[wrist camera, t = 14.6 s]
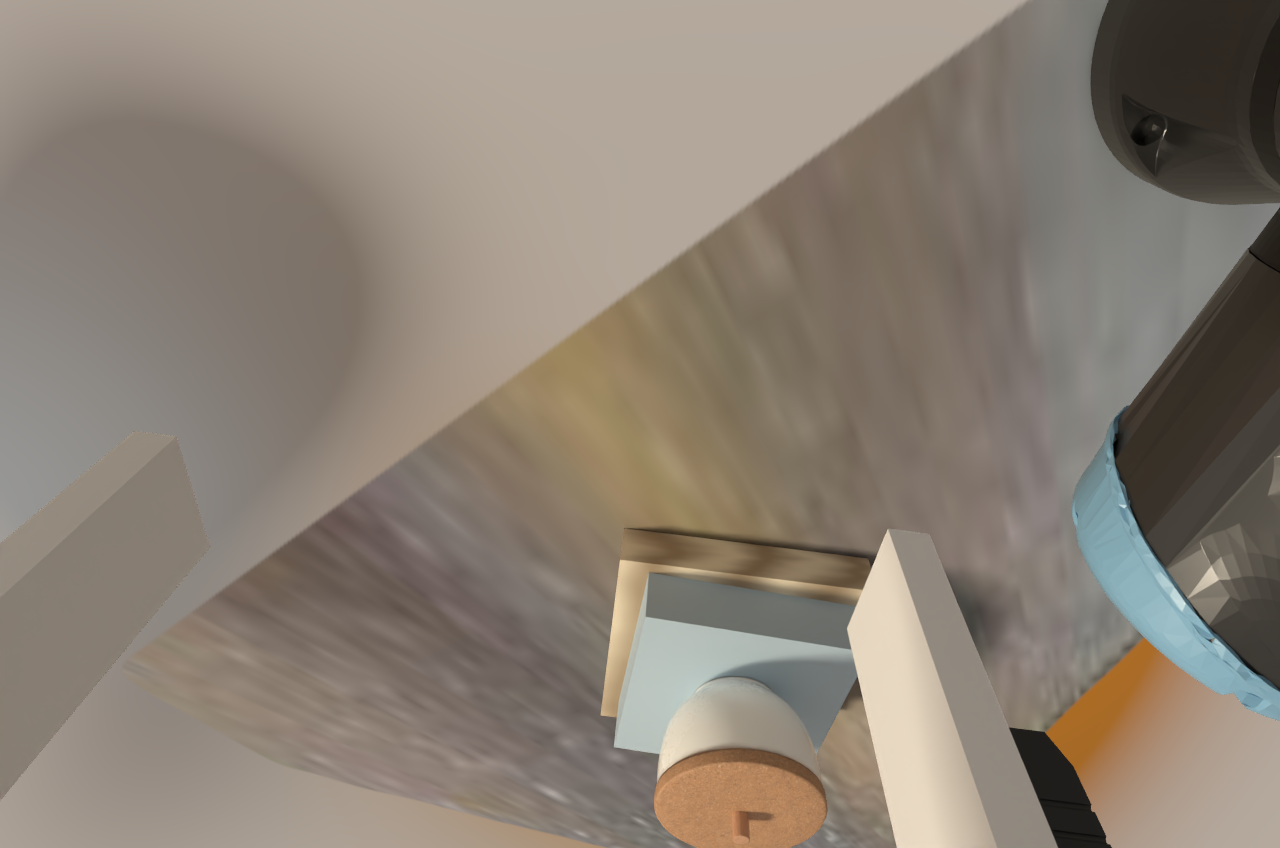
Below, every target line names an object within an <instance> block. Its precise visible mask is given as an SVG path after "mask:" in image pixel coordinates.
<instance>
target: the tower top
mask: <svg viewBox="0 0 1280 848" xmlns="http://www.w3.org/2000/svg"><path fill="white" fill-rule="evenodd" d="M855 608H856V606H853V605H846V604H840V603H834V602H828V601H822V600H816V599H810V598H803V597H797V596H791V595H785V594H779V593H773V592H766V591H760V590H754V589H748V588H742V587H736V586H730V585H723V584H717V583H711V582H705V581H699V580H693V579H686V578H680V577H674V576H668V575H662V574H656V573H650V572H649V574H648V578H647V582H646V587H645V591H644V595H643V600H642V604H641V608H640V612H639V617H638V621H637V625H636V630H635V634H634V638H633V642H632V647H631V651H630V655H629V659H628V664H627V668H626V672H625V677H624V681H623V685H622V689H621V694H620V698H619V703H618V713H617V723H616V732H615V742H614V747H617V748H623V749H630V750H636V751H643V752H649V753H656V754H660V751H661V746H662V741H663V738H664V735H665V731H666V728H667V726H668V724H669V722H670V720H671V718H672V716H673V715H674V713H675V712H676V710H677V709H678V708H679V707H680V705H681V704H682V703H683V702H684V701H685V700H687V699H688V698H689V697H690V696H691V695H693V694H694V692H695V691H696V690H697V689H698V688H699V687H700V686H701V685H703V684H705V683H706V682H709V681H711V680H714V679H717V678H722V677H731V676H734V677H746V678H750V679H754V680H756V681H759V682H761V683H763V684H765V685H766V686H768V687H769V688H770V689H771V690H772V691H773V692H774V693H775V694H776V695H778V696H779V697H781V698H782V699H783V700H785V701H786V702H787V703H788V704H789V705H790V706H791V707H792V708H793V709H794V711H795V712H796V713H797V714H798V716H799V717H800V719H801V720H802V722H803V724H804V725H805V727H806V729H807V731H808V734H809V736H810V739H811V741H812V744H813V746H814V750H815V753H816V754H817V752H818V750H819V748H820V746H821V744H822V743H823V741H824V739H825V737H826V735H827V733H828V731H829V729H830V727H831V725H832V724H833V722H834V720H835V718H836V716H837V714H838V712H839V710H840V708H841V706H842V705H843V703H844V701H845V699H846V697H847V695H848V693H849V691H850V689H851V688H852V686H853V684H854V682H855V680H856V678H857V676H858V675H857V670H856V666H855V662H854V657H853V653H852V649H851V644H850V640H849V636H848V631H847V627H848V625H849V622H850V620H851V617H852V615H853V613H854V610H855Z"/></svg>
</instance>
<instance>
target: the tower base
mask: <svg viewBox="0 0 1280 848" xmlns="http://www.w3.org/2000/svg"><path fill="white" fill-rule="evenodd" d="M870 571H871V566H870V563H869V559H868V558H860V557H851V556H843V555H835V554H827V553H819V552H811V551H803V550H795V549H787V548H779V547H771V546H763V545H755V544H747V543H739V542H731V541H723V540H714V539H706V538H698V537H690V536H682V535H674V534H666V533H658V532H650V531H642V530H634V529H626V528H624V533H623V541H622V549H621V557H620V565H619V573H618V581H617V589H616V597H615V605H614V613H613V621H612V629H611V637H610V645H609V653H608V661H607V669H606V677H605V685H604V693H603V701H602V709H601V715H602V716H611V717H617V713H618V703H619V698H620V694H621V689H622V685H623V681H624V677H625V672H626V668H627V664H628V659H629V655H630V651H631V647H632V642H633V638H634V634H635V630H636V625H637V621H638V617H639V612H640V608H641V604H642V600H643V595H644V591H645V587H646V582H647V578H648V574H649V572H650V573H656V574H662V575H668V576H674V577H680V578H686V579H693V580H699V581H705V582H711V583H717V584H723V585H730V586H736V587H742V588H748V589H754V590H760V591H766V592H773V593H779V594H785V595H791V596H797V597H803V598H810V599H816V600H822V601H828V602H834V603H840V604H846V605H853V606H856V605H857V603H858V600H859V598H860V596H861V593H862V591H863V588H864V586H865V583H866V581H867V579H868V576H869V574H870Z"/></svg>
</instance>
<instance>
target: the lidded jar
mask: <svg viewBox="0 0 1280 848" xmlns="http://www.w3.org/2000/svg"><path fill="white" fill-rule="evenodd" d="M654 808H655V812H656V815H657V818H658V819H659V821H660V822H661V824H662V826H663V827H664V828H665V829H666V830H667V831H668V832H670V833H671V834H672V835H674V836H675V837H676V838H678V839H680V840H682V841H684V842H686V843H688V844H690V845H693V846H695V847H698V848H790V847H793V846H795V845H797V844H800V843H802V842H803V841H805V840H807V839H809V838H810V837H811V836H812V835H814V834H815V833H816V832H817V831H818V830H819V829H820V827H821V826H822V824H823V822H824V820H825V818H826V815H827V801H826V794H825V790H824V788H823V785H822V782H821V775H820V769H819V764H818V760H817V756H816V753H815V750H814V746H813V744H812V741H811V739H810V736H809V734H808V731H807V729H806V727H805V725H804V724H803V722H802V720H801V719H800V717H799V716H798V714H797V713H796V712H795V711H794V709H793V708H792V707H791V706H790V705H789V704H788V703H787V702H786V701H785V700H783V699H782V698H781V697H779V696H778V695H776V694H775V693H774V692H773V691H772V690H771V689H770V688H769V687H768V686H766V685H765V684H763V683H761V682H759V681H756V680H754V679H750V678H746V677H734V676H731V677H722V678H717V679H714V680H711V681H709V682H706V683H705V684H703V685H701V686H700V687H699V688H698V689H697V690H696V691H695V692H694V694H693V695H691V696H690V697H689V698H688V699H687V700H685V701H684V702H683V703H682V704H681V705H680V707H679V708H678V709H677V710H676V712H675V713H674V715H673V716H672V718H671V720H670V722H669V724H668V726H667V728H666V731H665V735H664V738H663V741H662V746H661V751H660V756H659V762H658V773H657V785H656V789H655V796H654Z"/></svg>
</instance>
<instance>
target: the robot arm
mask: <svg viewBox="0 0 1280 848" xmlns="http://www.w3.org/2000/svg"><path fill="white" fill-rule="evenodd" d="M1091 97H1092V105H1093V110H1094V115H1095V119H1096V122H1097V125H1098V128H1099V130H1100V133H1101V135H1102V137H1103V139H1104V141H1105V143H1106V145H1107V146H1108V148H1109V149H1110V151H1111V152H1112V154H1113V155H1114V156H1115V157H1116V158H1117V160H1118V161H1119V162H1120V163H1121V164H1122V165H1123V166H1124V167H1125V168H1126V169H1128V170H1129V171H1130V172H1132V173H1133V174H1134V175H1136V176H1138V177H1139V178H1141V179H1142V180H1144V181H1146V182H1149V183H1151V184H1153V185H1155V186H1157V187H1159V188H1161V189H1163V190H1165V191H1167V192H1169V193H1172V194H1174V195H1177V196H1180V197H1182V198H1186V199H1190V200H1194V201H1199V202H1205V203H1212V204H1227V205H1238V204H1263V203H1280V0H1109V1H1108V4H1107V6H1106V9H1105V12H1104V14H1103V17H1102V20H1101V23H1100V27H1099V30H1098V34H1097V38H1096V42H1095V47H1094V52H1093V58H1092V67H1091ZM1072 515H1073V520H1074V524H1075V526H1076V529H1077V535H1076V538H1077V542H1078V545H1079V547H1080V550H1081V552H1082V554H1083V556H1084V558H1085V561H1086V563H1087V565H1088V567H1089V568H1090V570H1091V572H1092V574H1093V575H1094V577H1095V578H1096V580H1097V582H1098V583H1099V585H1100V586H1101V587H1102V589H1103V590H1104V592H1105V593H1106V595H1107V596H1108V597H1109V598H1110V600H1111V601H1112V602H1113V604H1114V605H1115V606H1116V607H1117V608H1118V610H1119V611H1120V612H1121V613H1122V614H1123V615H1124V616H1125V618H1126V619H1127V620H1128V621H1129V622H1130V623H1131V624H1132V625H1133V626H1134V627H1135V628H1136V629H1137V630H1138V631H1139V632H1140V633H1141V634H1142V635H1143V636H1144V637H1145V638H1146V639H1147V640H1148V641H1149V642H1150V643H1151V644H1152V645H1153V646H1154V647H1156V648H1157V649H1158V650H1159V651H1160V652H1161V653H1162V654H1163V655H1165V656H1166V657H1167V658H1168V659H1170V660H1171V661H1172V662H1173V663H1174V664H1176V665H1177V666H1178V667H1180V668H1181V669H1182V670H1183V671H1185V672H1186V673H1188V674H1189V675H1190V676H1192V677H1193V678H1195V679H1196V680H1197V681H1199V682H1201V683H1202V684H1204V685H1205V686H1207V687H1208V688H1210V689H1212V690H1213V691H1215V692H1216V693H1219V694H1231V693H1234V694H1235V695H1236V697H1237V698H1238V699H1239V700H1240V702H1241V703H1242V704H1243V705H1244V706H1245V707H1246V708H1247V709H1249V710H1251V711H1254V712H1256V713H1259V714H1261V715H1263V716H1266V717H1269V718H1272V719H1275V720H1278V721H1280V208H1279V209H1278V211H1277V212H1276V213H1275V215H1274V216H1273V217H1272V219H1271V220H1270V221H1269V223H1268V224H1267V225H1266V227H1265V228H1264V229H1263V231H1262V232H1261V234H1260V235H1259V236H1258V238H1257V239H1256V240H1255V242H1254V243H1253V244H1252V245H1251V246H1250V248H1248V249H1247V250H1246V252H1245V253H1244V254H1243V256H1242V257H1241V258H1240V260H1239V261H1238V262H1237V264H1236V265H1235V266H1234V268H1233V269H1232V270H1231V272H1230V273H1229V274H1228V276H1227V277H1226V279H1225V280H1224V281H1223V283H1222V284H1221V285H1220V287H1219V288H1218V289H1217V291H1216V292H1215V293H1214V295H1213V296H1212V297H1211V299H1210V300H1209V301H1208V303H1207V304H1206V305H1205V307H1204V308H1203V309H1202V311H1201V312H1200V313H1199V315H1198V316H1197V317H1196V319H1195V320H1194V321H1193V323H1192V324H1191V325H1190V327H1189V328H1188V329H1187V331H1186V332H1185V334H1184V335H1183V336H1182V338H1181V339H1180V340H1179V342H1178V343H1177V344H1176V346H1175V347H1174V348H1173V350H1172V351H1171V352H1170V354H1169V355H1168V356H1167V358H1166V359H1165V360H1164V362H1163V363H1162V364H1161V366H1160V367H1159V368H1158V370H1157V371H1156V372H1155V374H1154V375H1153V376H1152V378H1151V379H1150V380H1149V382H1148V383H1147V384H1146V385H1145V387H1144V388H1143V389H1142V390H1141V392H1140V393H1139V394H1138V396H1137V397H1136V398H1135V399H1134V401H1133V402H1132V403H1131V405H1129V406H1126V407H1124V408H1123V409H1122V410H1121V411H1120V412H1119V413H1118V415H1117V416H1116V417H1115V419H1114V420H1113V421H1112V422H1111V424H1110V426H1109V429H1108V431H1107V435H1106V439H1105V441H1104V443H1103V445H1102V446H1101V448H1100V449H1099V451H1098V452H1097V454H1096V456H1095V457H1094V459H1093V460H1092V462H1091V463H1090V465H1089V466H1088V468H1087V469H1086V470H1085V472H1084V473H1083V475H1082V476H1081V478H1080V480H1079V482H1078V484H1077V486H1076V489H1075V492H1074V496H1073V501H1072ZM209 548H210V544H209V541H208V538H207V535H206V531H205V528H204V525H203V522H202V519H201V515H200V512H199V509H198V505H197V502H196V499H195V495H194V492H193V489H192V486H191V482H190V479H189V476H188V473H187V469H186V466H185V463H184V460H183V457H182V453H181V450H180V447H179V443H178V440H177V437H176V436H169V435H161V434H154V433H146V432H138V431H134V432H133V433H132V434H130V435H129V436H128V437H127V438H126V439H124V440H123V441H122V442H121V443H120V444H118V445H117V446H116V447H115V448H114V449H112V450H111V451H110V452H109V453H108V454H107V455H105V456H104V457H103V458H102V459H100V460H99V461H98V462H97V463H96V464H94V465H93V466H92V467H91V468H90V469H89V470H87V471H86V472H85V473H84V474H83V475H81V476H80V477H79V478H78V479H77V480H75V481H74V482H73V483H72V484H71V485H69V487H67V488H66V489H65V490H63V491H62V492H61V493H60V494H59V495H58V496H56V497H55V498H54V499H53V500H52V501H50V502H49V503H48V504H47V505H46V506H44V507H43V508H42V509H41V510H40V511H38V512H37V513H36V514H35V515H34V516H32V517H31V518H30V519H29V520H28V521H26V522H25V523H24V524H23V525H22V526H20V527H19V528H18V529H17V530H16V531H15V532H13V533H12V534H11V535H10V536H9V537H7V538H6V539H5V540H4V541H3V542H1V543H0V800H1V799H2V798H3V797H4V795H5V794H6V793H7V792H8V791H9V789H10V788H11V787H12V786H13V785H14V783H15V782H16V781H17V780H18V778H19V777H20V776H21V775H22V774H23V773H24V771H25V770H26V769H27V768H28V766H29V765H30V764H31V763H32V762H33V760H34V759H35V758H36V757H37V756H38V754H39V753H40V752H41V751H42V750H43V748H44V747H45V746H46V745H47V744H48V742H49V741H50V740H51V739H52V737H53V736H54V735H55V734H56V733H57V731H58V730H59V729H60V728H61V727H62V725H63V724H64V723H65V722H66V720H67V719H68V718H69V717H70V716H71V715H72V713H73V712H74V711H75V710H76V708H77V707H78V706H79V705H80V704H81V702H82V701H83V700H84V699H85V698H86V696H87V695H88V694H89V692H90V691H91V690H92V689H93V688H94V687H95V686H96V684H97V683H98V682H99V681H100V679H101V678H102V677H103V676H104V674H105V673H106V672H107V671H108V670H109V668H110V667H111V666H112V665H113V664H114V663H115V661H116V660H117V659H118V658H119V657H120V655H121V654H122V653H123V652H124V651H125V649H126V648H127V647H128V645H129V644H130V643H131V642H132V641H133V640H134V638H135V637H136V636H137V635H138V633H139V632H140V631H141V630H142V629H143V628H144V626H145V625H146V624H147V623H148V621H149V620H150V619H151V618H152V617H153V615H154V614H155V613H156V612H157V611H158V609H159V608H160V607H161V606H162V605H163V603H164V602H165V601H166V600H167V598H168V597H169V596H170V595H171V594H172V592H173V591H174V590H175V589H176V588H177V586H178V585H179V584H180V583H181V582H182V580H183V579H184V578H185V577H186V576H187V574H188V573H189V572H190V571H191V569H192V568H193V567H194V566H195V565H196V564H197V562H198V561H199V560H200V559H201V558H202V556H203V555H204V554H205V553H206V551H207V550H208V549H209ZM847 631H848V636H849V640H850V644H851V649H852V653H853V657H854V662H855V666H856V670H857V675H858V679H859V684H860V688H861V692H862V697H863V701H864V705H865V710H866V714H867V719H868V723H869V727H870V732H871V736H872V740H873V745H874V749H875V753H876V758H877V762H878V767H879V771H880V775H881V780H882V784H883V788H884V793H885V797H886V802H887V806H888V810H889V815H890V819H891V823H892V828H893V832H894V837H895V841H896V845H897V848H1112V847H1111V845H1109V844H1107V843H1106V835H1105V833H1104V831H1103V828H1102V826H1101V824H1100V822H1099V820H1098V818H1097V816H1096V814H1095V812H1092V811H1091V803H1090V801H1089V799H1088V797H1087V795H1086V792H1085V790H1084V788H1083V786H1082V784H1081V782H1080V780H1079V777H1078V776H1077V773H1076V771H1075V769H1074V767H1073V766H1072V764H1071V763H1070V762H1069V761H1068V760H1067V759H1066V757H1065V756H1064V755H1063V754H1062V752H1061V751H1060V750H1059V749H1058V748H1057V747H1056V745H1055V744H1054V743H1053V742H1052V741H1051V739H1050V738H1049V737H1048V736H1047V735H1046V733H1045V732H1040V731H1032V730H1024V729H1016V728H1009V727H1008V725H1007V722H1006V720H1005V717H1004V715H1003V712H1002V710H1001V708H1000V705H999V703H998V700H997V698H996V695H995V693H994V690H993V688H992V686H991V683H990V681H989V678H988V676H987V673H986V671H985V669H984V666H983V664H982V661H981V659H980V656H979V654H978V652H977V649H976V647H975V644H974V642H973V639H972V637H971V634H970V632H969V630H968V627H967V625H966V622H965V620H964V617H963V615H962V613H961V610H960V608H959V605H958V603H957V600H956V598H955V596H954V593H953V591H952V588H951V586H950V583H949V581H948V578H947V576H946V574H945V571H944V569H943V566H942V564H941V561H940V559H939V557H938V554H937V552H936V549H935V547H934V544H933V542H932V540H931V537H930V535H929V534H926V533H918V532H910V531H903V530H895V529H888V530H887V532H886V535H885V537H884V540H883V542H882V545H881V547H880V549H879V552H878V554H877V557H876V559H875V562H874V564H873V566H872V569H871V571H870V574H869V576H868V579H867V581H866V583H865V586H864V588H863V591H862V593H861V596H860V598H859V600H858V603H857V605H856V608H855V610H854V613H853V615H852V617H851V620H850V622H849V625H848V627H847Z"/></svg>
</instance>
